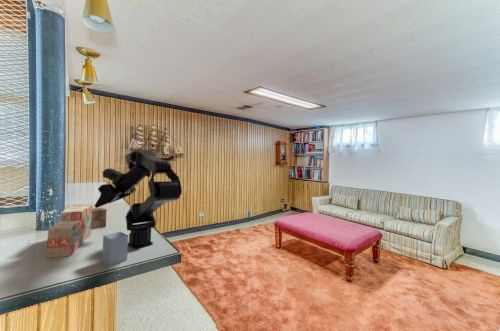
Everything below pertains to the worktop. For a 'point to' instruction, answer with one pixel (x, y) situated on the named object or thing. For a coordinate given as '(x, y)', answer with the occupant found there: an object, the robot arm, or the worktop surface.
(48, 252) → the stack of blocks
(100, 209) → the walnut block
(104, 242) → the slate-blue block
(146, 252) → the worktop surface
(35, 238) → the worktop surface
